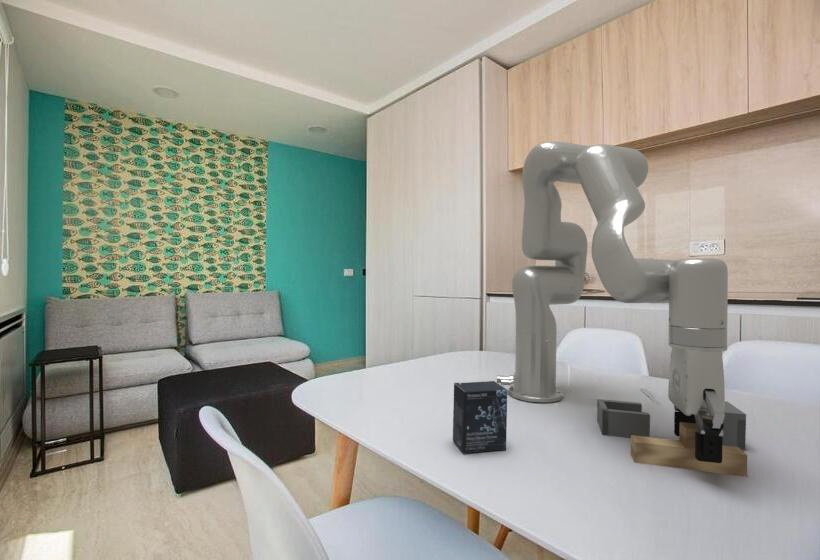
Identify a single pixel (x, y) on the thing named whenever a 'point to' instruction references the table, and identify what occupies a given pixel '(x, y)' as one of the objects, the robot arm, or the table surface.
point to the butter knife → (650, 395)
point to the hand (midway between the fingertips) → (696, 448)
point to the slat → (686, 453)
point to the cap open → (622, 418)
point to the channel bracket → (733, 426)
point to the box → (479, 416)
